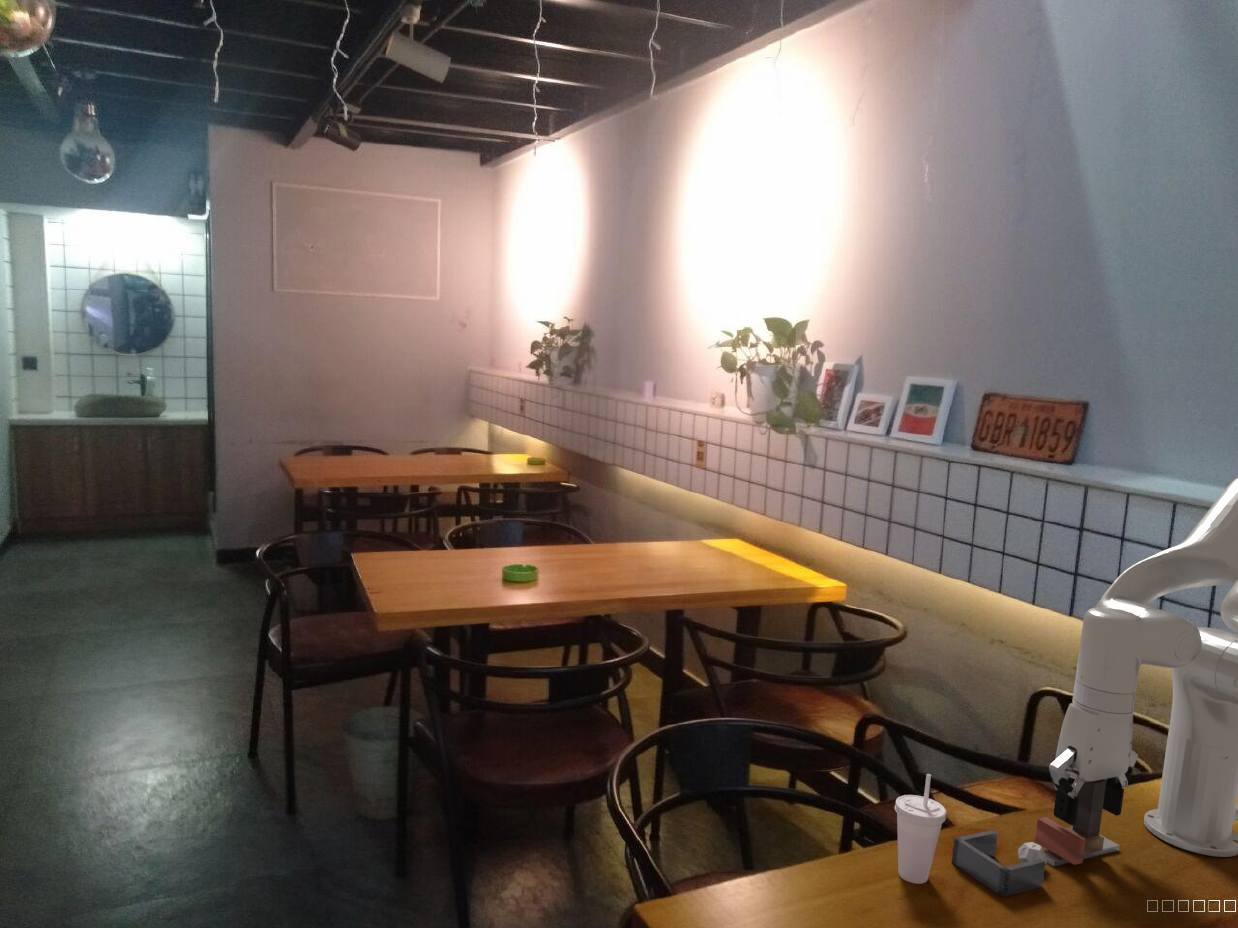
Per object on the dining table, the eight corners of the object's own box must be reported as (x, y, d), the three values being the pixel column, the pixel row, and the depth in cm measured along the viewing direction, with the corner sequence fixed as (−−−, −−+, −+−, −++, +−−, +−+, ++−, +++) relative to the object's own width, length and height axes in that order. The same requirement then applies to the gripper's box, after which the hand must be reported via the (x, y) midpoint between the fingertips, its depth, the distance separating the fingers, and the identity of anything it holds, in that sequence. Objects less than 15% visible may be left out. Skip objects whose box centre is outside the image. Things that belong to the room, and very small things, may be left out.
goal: (990, 853, 128) (993, 829, 127) (1042, 886, 120) (1045, 861, 120) (951, 862, 124) (954, 837, 124) (1002, 897, 117) (1005, 871, 116)
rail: (1103, 841, 133) (1104, 836, 133) (1118, 850, 131) (1119, 844, 131) (1038, 857, 127) (1039, 852, 127) (1053, 866, 125) (1054, 860, 125)
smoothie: (941, 893, 117) (953, 788, 115) (889, 884, 118) (901, 780, 116) (934, 867, 123) (946, 767, 121) (885, 858, 124) (896, 760, 123)
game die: (1011, 864, 125) (1014, 843, 125) (1025, 856, 128) (1027, 836, 127) (1036, 876, 123) (1039, 855, 122) (1050, 868, 125) (1052, 847, 125)
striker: (1071, 832, 133) (1080, 767, 132) (1111, 855, 127) (1120, 786, 126) (1034, 841, 130) (1043, 774, 129) (1074, 864, 124) (1083, 794, 123)
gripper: (1119, 683, 134) (1103, 795, 136) (1037, 693, 127) (1021, 811, 129) (1169, 701, 128) (1151, 819, 129) (1085, 713, 120) (1068, 838, 122)
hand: (1087, 815), depth 129 cm, fingers open, 8 cm apart
